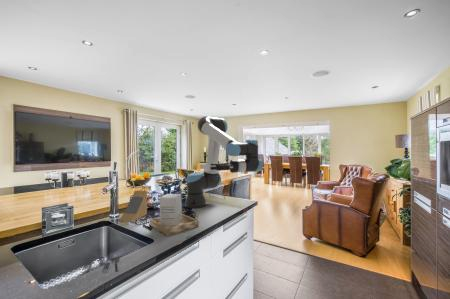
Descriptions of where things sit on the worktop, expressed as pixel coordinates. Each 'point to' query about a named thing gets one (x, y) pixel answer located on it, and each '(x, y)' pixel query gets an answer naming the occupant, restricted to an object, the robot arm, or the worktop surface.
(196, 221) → the oak tray
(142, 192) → the sandwich container
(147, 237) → the worktop surface
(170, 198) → the supplement box
